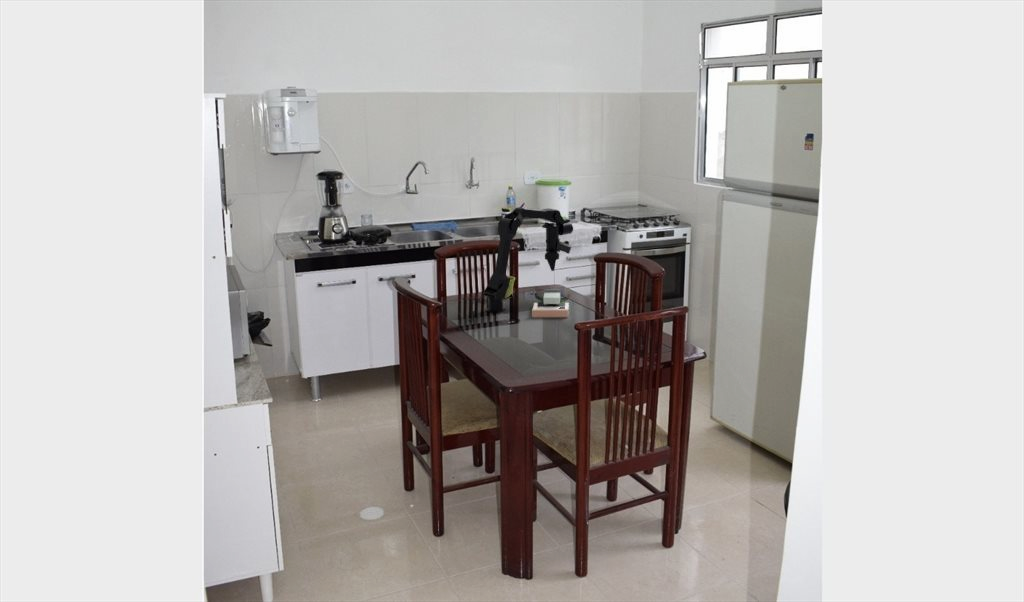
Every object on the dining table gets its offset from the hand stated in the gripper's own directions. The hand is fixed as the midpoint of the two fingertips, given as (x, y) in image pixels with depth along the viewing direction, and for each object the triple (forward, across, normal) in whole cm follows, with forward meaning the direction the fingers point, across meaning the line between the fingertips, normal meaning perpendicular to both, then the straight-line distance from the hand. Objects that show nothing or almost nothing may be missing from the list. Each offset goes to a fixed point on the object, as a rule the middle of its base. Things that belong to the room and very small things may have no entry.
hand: (552, 270), depth 356 cm
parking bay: (+12, -25, 0) cm, 28 cm away
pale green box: (+12, -12, 0) cm, 17 cm away
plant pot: (+12, 0, +22) cm, 25 cm away
